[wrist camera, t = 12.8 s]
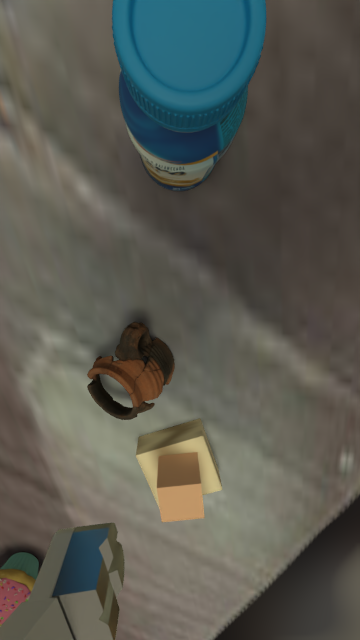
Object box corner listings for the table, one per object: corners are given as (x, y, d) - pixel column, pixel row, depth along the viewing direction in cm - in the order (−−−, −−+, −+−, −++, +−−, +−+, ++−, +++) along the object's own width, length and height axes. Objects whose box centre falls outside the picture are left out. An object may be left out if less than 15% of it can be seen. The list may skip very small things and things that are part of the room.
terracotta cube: (197, 452, 38) (201, 483, 33) (200, 483, 39) (204, 517, 34) (158, 456, 38) (156, 488, 33) (163, 487, 39) (161, 522, 34)
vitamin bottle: (232, 162, 32) (324, 53, 13) (168, 209, 33) (164, 172, 14) (189, 86, 30) (222, -181, 11) (123, 138, 31) (44, -20, 12)
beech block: (200, 416, 41) (202, 435, 37) (217, 467, 44) (222, 489, 40) (139, 435, 42) (135, 455, 38) (160, 483, 44) (159, 507, 40)
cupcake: (15, 587, 49) (-34, 697, 37) (-15, 552, 46) (-76, 657, 35) (61, 571, 48) (26, 677, 36) (33, 534, 46) (-14, 636, 34)
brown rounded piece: (179, 391, 40) (147, 437, 34) (121, 370, 44) (82, 408, 37) (182, 315, 34) (144, 353, 28) (115, 297, 37) (67, 327, 31)
